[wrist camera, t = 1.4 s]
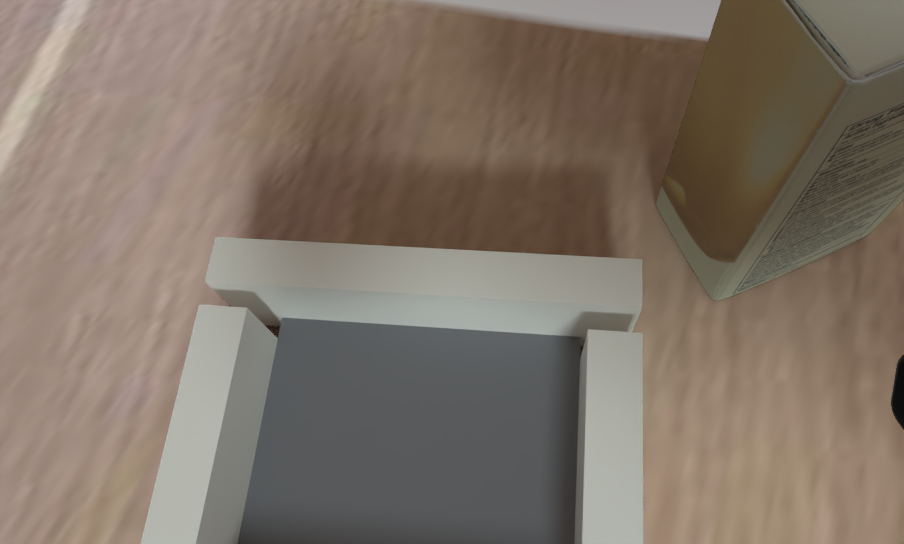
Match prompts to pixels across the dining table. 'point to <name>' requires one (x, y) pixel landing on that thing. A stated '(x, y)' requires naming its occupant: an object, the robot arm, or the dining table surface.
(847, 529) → the dining table surface
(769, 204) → the skincare box
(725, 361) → the dining table surface
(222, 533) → the socket block
